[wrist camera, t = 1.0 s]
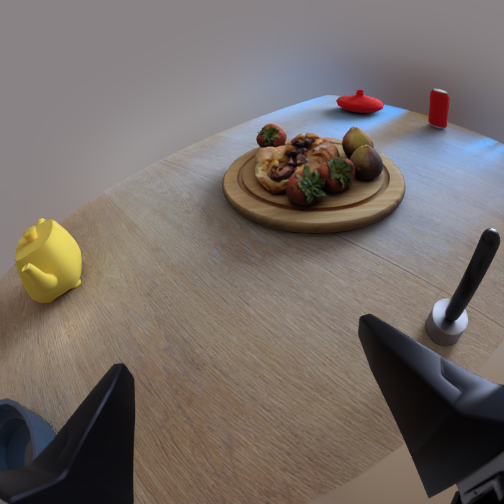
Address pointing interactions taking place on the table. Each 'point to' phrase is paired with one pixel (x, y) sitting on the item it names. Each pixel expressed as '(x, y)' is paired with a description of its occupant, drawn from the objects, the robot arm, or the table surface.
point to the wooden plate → (313, 182)
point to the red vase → (360, 103)
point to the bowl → (21, 435)
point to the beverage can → (438, 108)
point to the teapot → (48, 261)
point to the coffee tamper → (462, 294)
